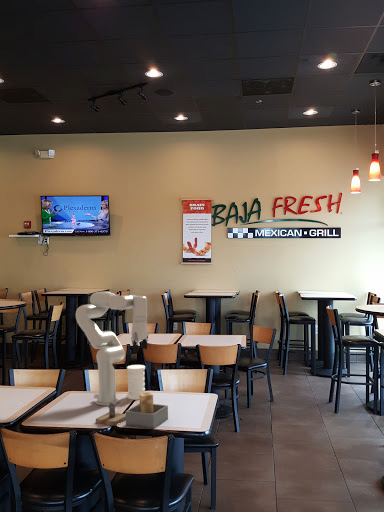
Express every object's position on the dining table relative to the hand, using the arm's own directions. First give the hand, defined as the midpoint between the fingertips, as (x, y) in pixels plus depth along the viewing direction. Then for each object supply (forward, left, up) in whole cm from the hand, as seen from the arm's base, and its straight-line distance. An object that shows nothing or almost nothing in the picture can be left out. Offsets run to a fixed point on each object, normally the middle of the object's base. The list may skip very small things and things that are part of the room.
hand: (140, 350), depth 266 cm
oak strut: (+12, -16, -32) cm, 37 cm away
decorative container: (-16, +22, -33) cm, 43 cm away
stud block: (-6, -20, -33) cm, 39 cm away
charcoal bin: (+12, -16, -33) cm, 38 cm away
